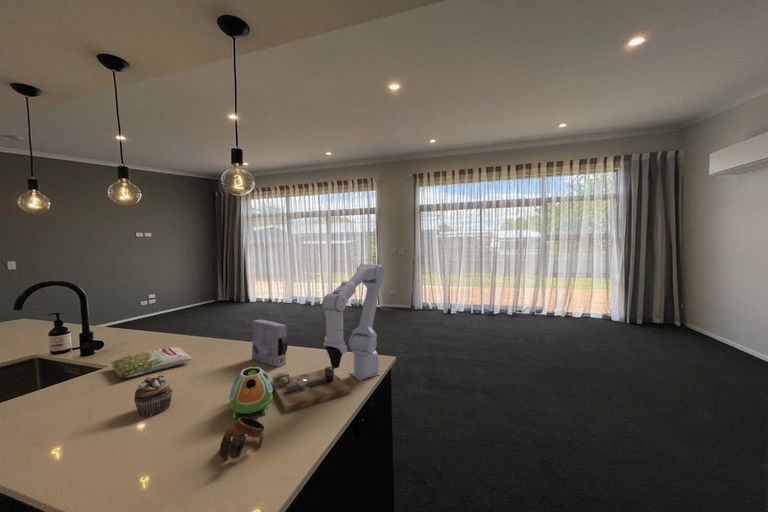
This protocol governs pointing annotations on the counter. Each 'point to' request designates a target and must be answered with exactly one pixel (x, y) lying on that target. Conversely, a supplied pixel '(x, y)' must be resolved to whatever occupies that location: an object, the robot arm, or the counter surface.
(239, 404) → the turtle holder
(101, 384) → the counter surface
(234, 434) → the brown curved open piece
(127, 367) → the frozen beans
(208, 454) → the counter surface
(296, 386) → the lever
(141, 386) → the cupcake
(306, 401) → the board
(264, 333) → the cake pan box
